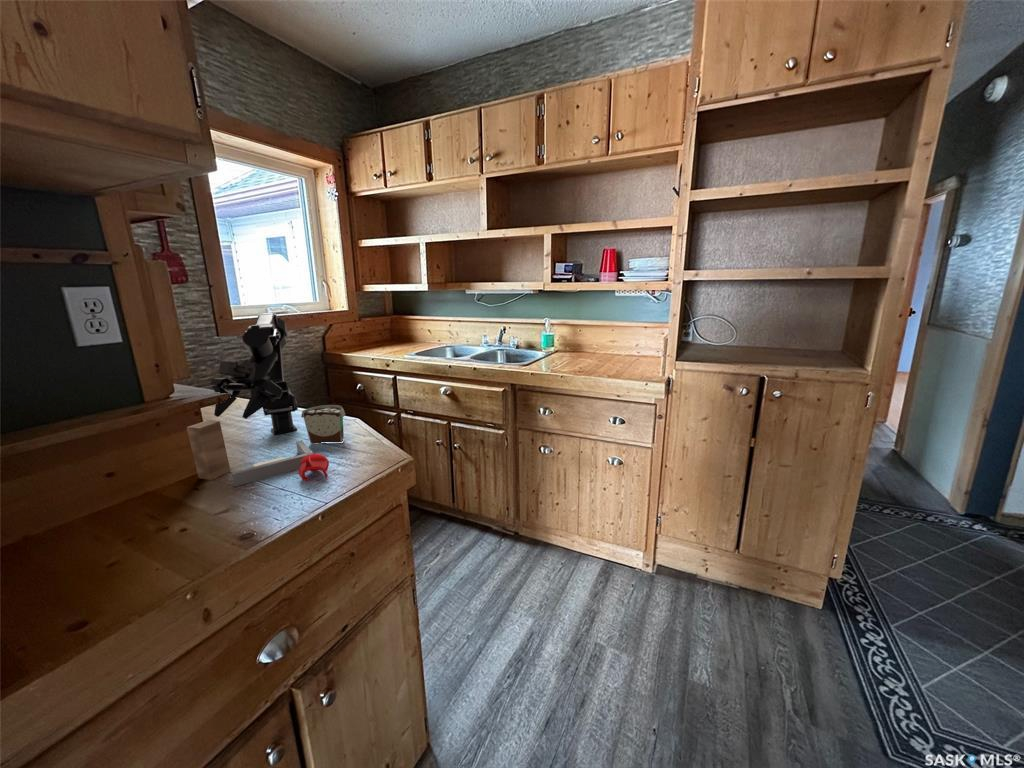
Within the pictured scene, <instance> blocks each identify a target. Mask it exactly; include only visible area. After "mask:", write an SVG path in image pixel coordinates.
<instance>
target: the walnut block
mask: <svg viewBox="0 0 1024 768" xmlns="http://www.w3.org/2000/svg"><path fill="white" fill-rule="evenodd" d="M186 431H187V435H188V439H189V444H190V446H191V447H190V448H191V451H192V456H193V459H194V463H195V468H196V472H197V477H198V479H202V480H209V481H210V480H214V479H216V478H218V477H220V476H223V475H225V474H227V473H229V472H231V467H230V461H229V457H228V453H227V448H226V444H225V438H224V435H223V429H222V426H221V421H220V420H208V419H207V420H204V421H202V422H198V423H196V424H192V425H190V426H186Z"/></svg>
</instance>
